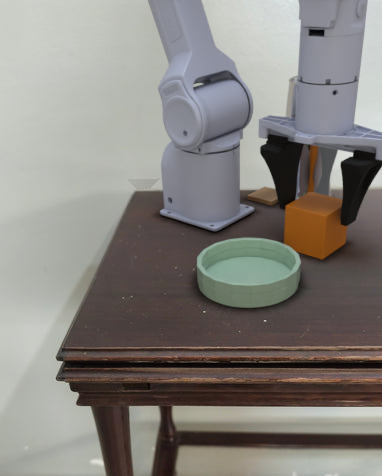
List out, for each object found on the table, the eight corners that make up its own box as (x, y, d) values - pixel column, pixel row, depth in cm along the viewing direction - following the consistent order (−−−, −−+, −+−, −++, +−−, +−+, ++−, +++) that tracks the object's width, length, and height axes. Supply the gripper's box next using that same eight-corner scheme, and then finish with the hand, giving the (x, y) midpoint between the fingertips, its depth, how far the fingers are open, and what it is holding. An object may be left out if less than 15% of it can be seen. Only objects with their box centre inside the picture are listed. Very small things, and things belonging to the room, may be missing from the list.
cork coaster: (246, 199, 76) (247, 195, 76) (264, 190, 79) (264, 186, 78) (271, 206, 74) (271, 201, 74) (288, 196, 77) (289, 192, 76)
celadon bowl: (176, 286, 58) (175, 264, 57) (239, 250, 64) (239, 229, 63) (258, 320, 52) (259, 296, 51) (318, 276, 58) (320, 254, 57)
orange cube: (283, 247, 64) (285, 205, 61) (307, 232, 67) (310, 191, 64) (322, 260, 61) (326, 216, 58) (345, 243, 64) (350, 200, 61)
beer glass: (330, 193, 77) (342, 71, 68) (340, 213, 71) (354, 84, 63) (278, 195, 77) (283, 74, 69) (284, 215, 71) (290, 86, 63)
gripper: (241, 79, 56) (240, 210, 64) (379, 95, 48) (359, 244, 56) (282, 67, 60) (276, 191, 68) (415, 80, 52) (392, 220, 60)
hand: (316, 214), depth 62 cm, fingers open, 7 cm apart
